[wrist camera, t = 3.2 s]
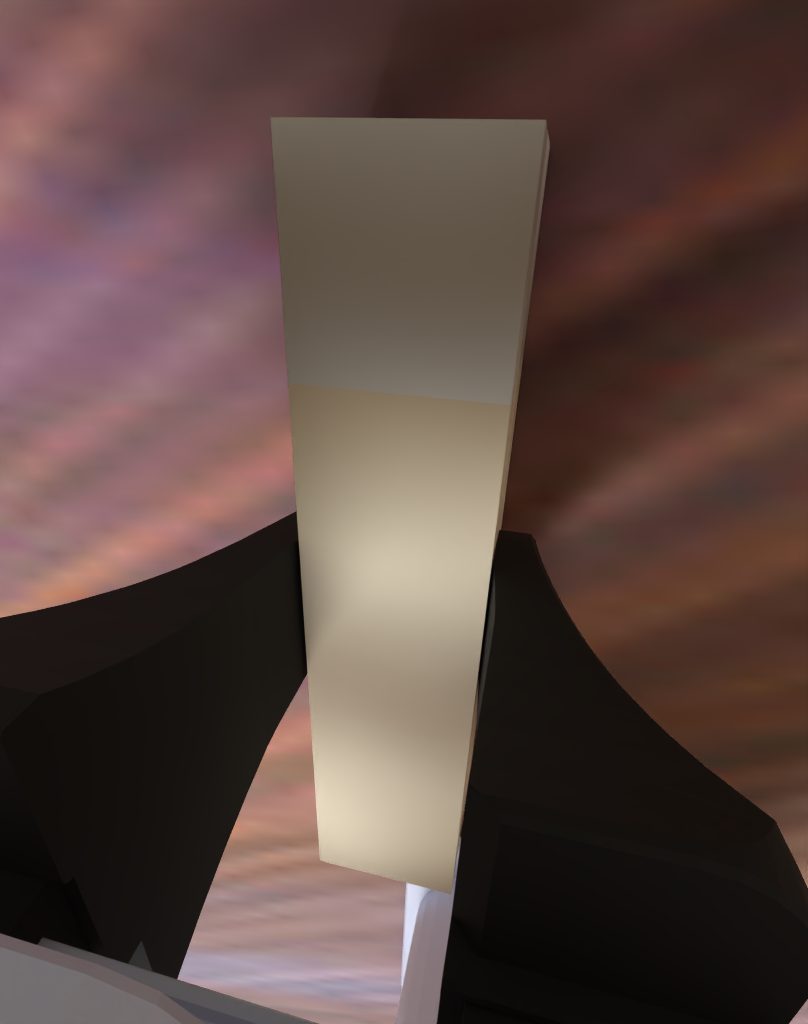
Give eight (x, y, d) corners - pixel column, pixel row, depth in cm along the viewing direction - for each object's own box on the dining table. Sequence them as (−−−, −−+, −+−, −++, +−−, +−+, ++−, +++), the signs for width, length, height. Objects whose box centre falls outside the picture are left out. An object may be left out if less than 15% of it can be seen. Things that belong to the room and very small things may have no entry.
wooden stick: (471, 760, 16) (451, 894, 13) (364, 737, 16) (320, 860, 13) (549, 145, 9) (546, 119, 6) (361, 142, 9) (269, 116, 6)
